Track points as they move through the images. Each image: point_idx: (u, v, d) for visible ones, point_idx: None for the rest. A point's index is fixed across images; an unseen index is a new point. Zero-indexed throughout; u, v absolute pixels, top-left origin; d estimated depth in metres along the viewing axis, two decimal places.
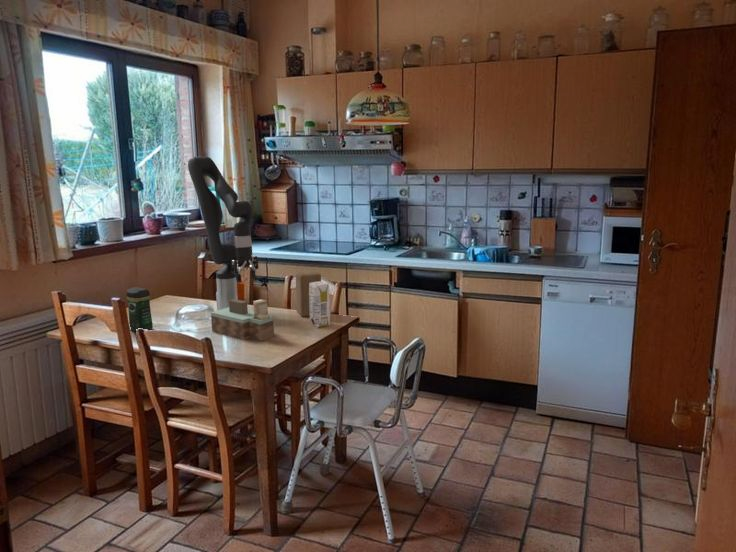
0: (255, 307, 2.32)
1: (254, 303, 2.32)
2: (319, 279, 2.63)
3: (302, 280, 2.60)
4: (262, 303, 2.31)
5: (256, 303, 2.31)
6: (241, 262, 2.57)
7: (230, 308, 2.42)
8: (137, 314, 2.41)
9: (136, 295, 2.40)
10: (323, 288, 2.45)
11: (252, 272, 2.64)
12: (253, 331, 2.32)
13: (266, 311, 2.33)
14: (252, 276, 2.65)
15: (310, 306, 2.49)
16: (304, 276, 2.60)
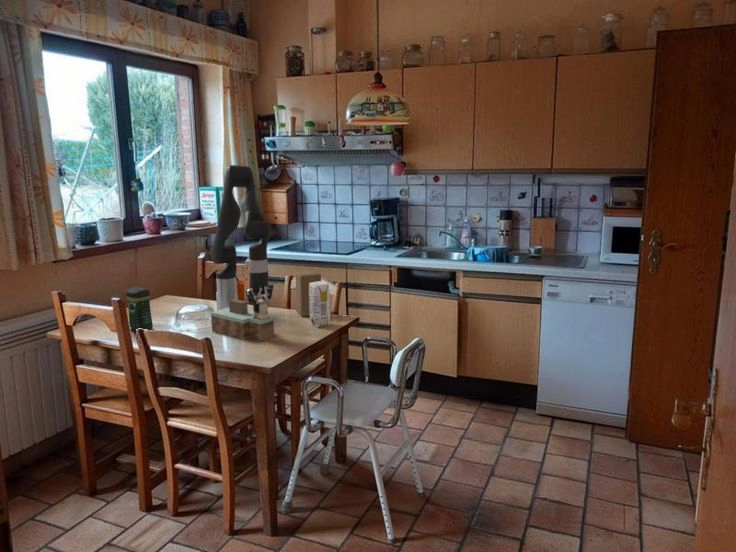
0: None
1: None
2: (319, 279, 2.63)
3: (302, 280, 2.60)
4: (262, 303, 2.31)
5: None
6: (256, 290, 2.28)
7: (230, 308, 2.42)
8: (137, 314, 2.41)
9: (136, 295, 2.40)
10: (323, 288, 2.45)
11: None
12: (253, 331, 2.32)
13: (266, 311, 2.33)
14: None
15: (310, 306, 2.49)
16: (304, 276, 2.60)
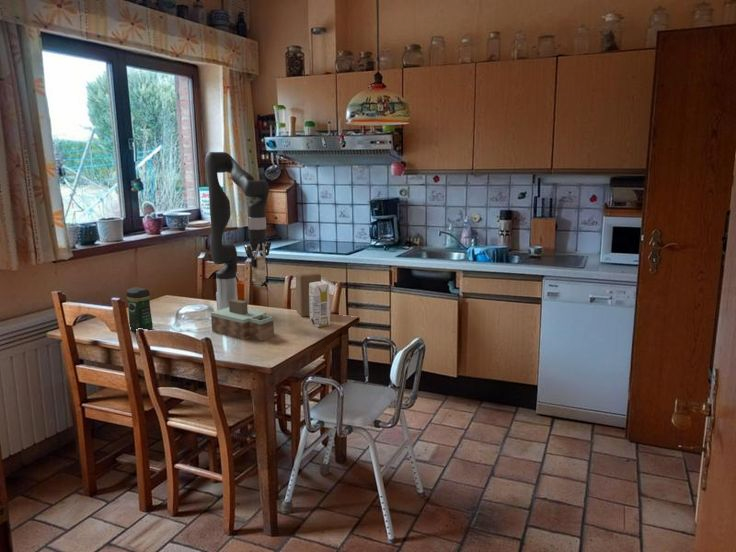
0: None
1: None
2: (319, 279, 2.63)
3: (302, 280, 2.60)
4: (260, 259, 2.45)
5: None
6: (254, 246, 2.43)
7: (230, 308, 2.42)
8: (137, 314, 2.41)
9: (136, 295, 2.40)
10: (323, 288, 2.45)
11: None
12: (253, 331, 2.32)
13: (264, 266, 2.47)
14: None
15: (310, 306, 2.49)
16: (304, 276, 2.60)
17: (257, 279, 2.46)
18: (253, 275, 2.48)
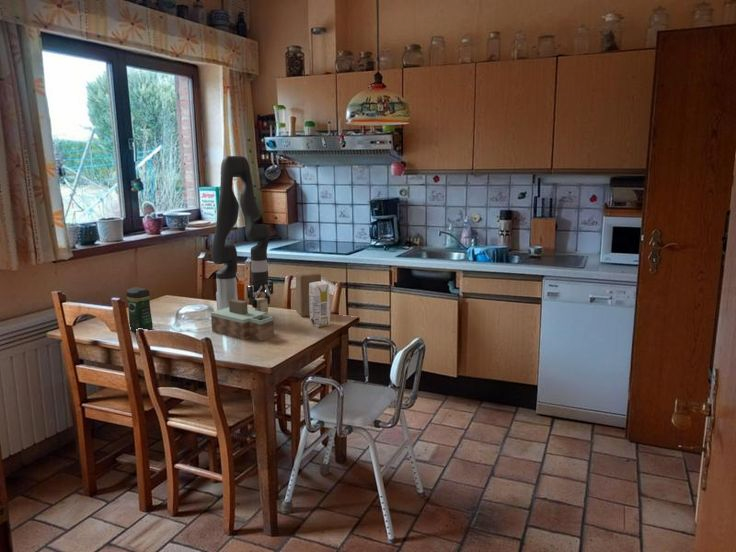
0: None
1: None
2: (319, 279, 2.63)
3: (302, 280, 2.60)
4: (263, 301, 2.52)
5: (257, 301, 2.53)
6: (257, 287, 2.50)
7: (230, 308, 2.42)
8: (137, 314, 2.41)
9: (136, 295, 2.40)
10: (323, 288, 2.45)
11: (267, 297, 2.57)
12: (253, 331, 2.32)
13: (266, 308, 2.55)
14: None
15: (310, 306, 2.49)
16: (304, 276, 2.60)
17: None
18: None
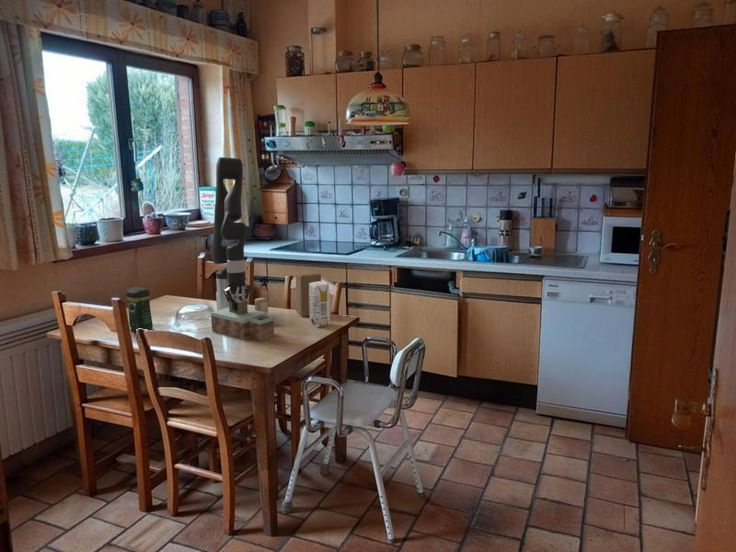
0: (256, 304, 2.53)
1: (255, 301, 2.53)
2: (319, 279, 2.63)
3: (302, 280, 2.60)
4: (263, 301, 2.52)
5: (257, 301, 2.53)
6: (234, 290, 2.36)
7: (230, 308, 2.42)
8: (137, 314, 2.41)
9: (136, 295, 2.40)
10: (323, 288, 2.45)
11: None
12: (253, 331, 2.32)
13: (266, 308, 2.55)
14: None
15: (310, 306, 2.49)
16: (304, 276, 2.60)
17: None
18: None
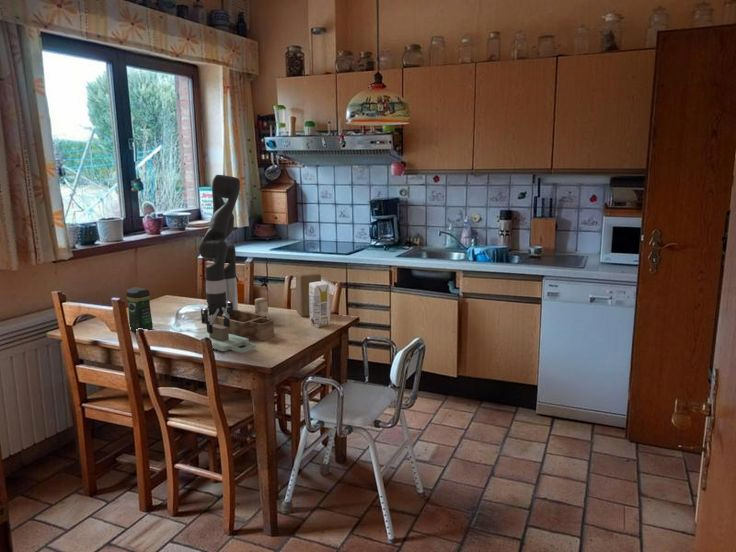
0: (256, 304, 2.53)
1: (255, 301, 2.53)
2: (319, 279, 2.63)
3: (302, 280, 2.60)
4: (263, 301, 2.52)
5: (257, 301, 2.53)
6: (213, 310, 2.21)
7: (210, 334, 2.27)
8: (137, 314, 2.41)
9: (136, 295, 2.40)
10: (323, 288, 2.45)
11: (225, 321, 2.28)
12: (253, 331, 2.32)
13: (266, 308, 2.55)
14: (225, 325, 2.29)
15: (310, 306, 2.49)
16: (304, 276, 2.60)
17: None
18: None
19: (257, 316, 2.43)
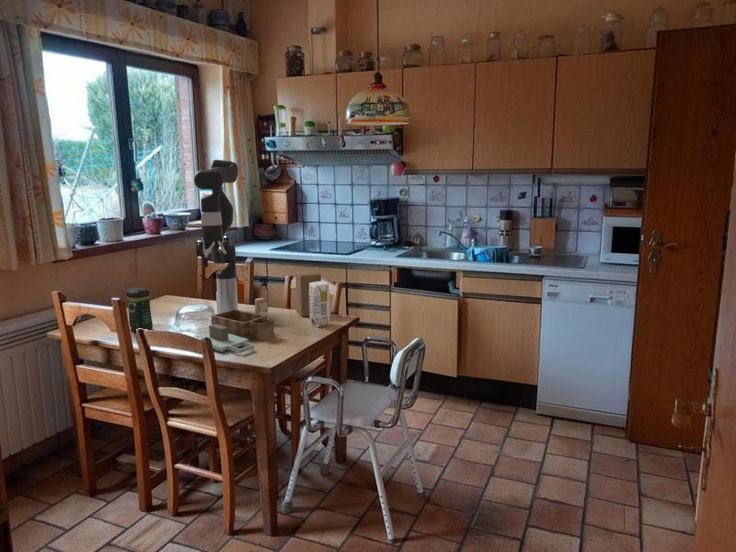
0: (256, 304, 2.53)
1: (255, 301, 2.53)
2: (319, 279, 2.63)
3: (302, 280, 2.60)
4: (263, 301, 2.52)
5: (257, 301, 2.53)
6: (208, 243, 2.16)
7: (210, 334, 2.27)
8: (137, 314, 2.41)
9: (136, 295, 2.40)
10: (323, 288, 2.45)
11: (222, 256, 2.23)
12: (253, 331, 2.32)
13: (266, 308, 2.55)
14: (222, 260, 2.23)
15: (310, 306, 2.49)
16: (304, 276, 2.60)
17: None
18: None
19: (257, 316, 2.43)
